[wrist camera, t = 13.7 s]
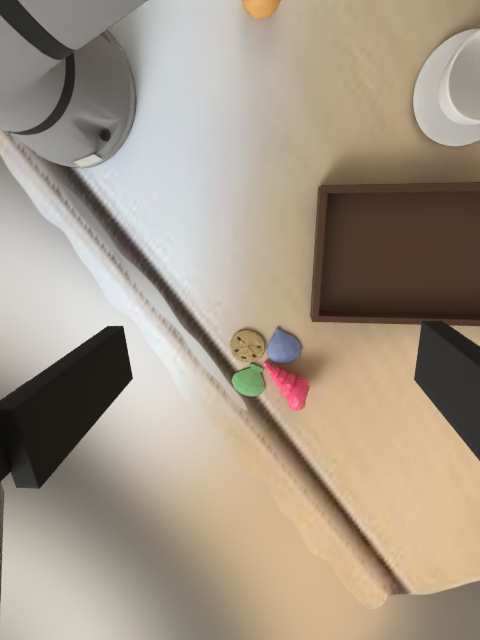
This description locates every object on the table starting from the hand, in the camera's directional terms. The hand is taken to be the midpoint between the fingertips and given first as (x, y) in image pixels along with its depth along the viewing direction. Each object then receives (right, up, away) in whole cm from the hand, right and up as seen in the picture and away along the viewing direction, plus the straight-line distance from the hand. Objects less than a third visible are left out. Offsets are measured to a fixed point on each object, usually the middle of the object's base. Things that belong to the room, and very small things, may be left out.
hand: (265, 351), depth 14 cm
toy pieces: (+3, -5, +30) cm, 31 cm away
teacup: (+22, +25, +18) cm, 38 cm away
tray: (+20, +9, +24) cm, 32 cm away
